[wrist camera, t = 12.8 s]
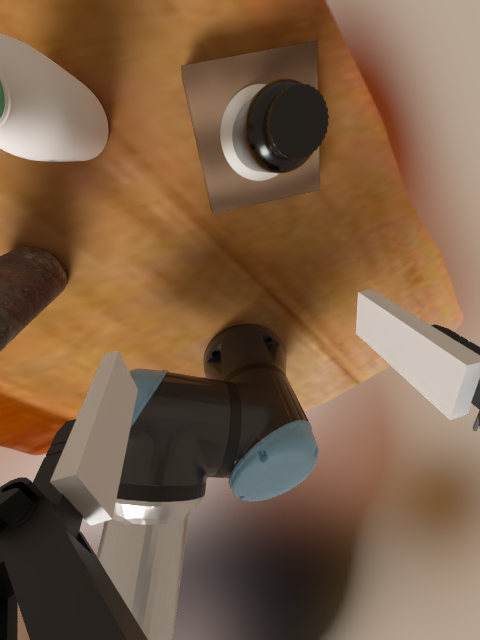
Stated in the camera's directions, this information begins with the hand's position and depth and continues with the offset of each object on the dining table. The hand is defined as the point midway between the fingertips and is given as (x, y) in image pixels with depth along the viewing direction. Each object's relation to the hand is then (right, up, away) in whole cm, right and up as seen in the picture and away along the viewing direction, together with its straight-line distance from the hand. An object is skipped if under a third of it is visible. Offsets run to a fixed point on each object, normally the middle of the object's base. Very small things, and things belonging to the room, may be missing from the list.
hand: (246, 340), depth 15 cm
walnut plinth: (+1, +24, +19) cm, 31 cm away
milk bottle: (-19, +23, +16) cm, 34 cm away
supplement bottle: (+2, +22, +16) cm, 27 cm away
